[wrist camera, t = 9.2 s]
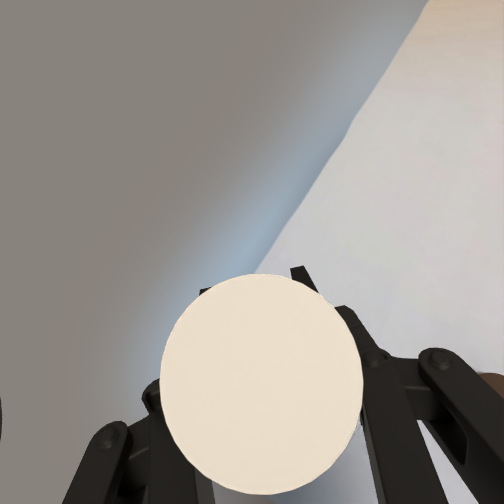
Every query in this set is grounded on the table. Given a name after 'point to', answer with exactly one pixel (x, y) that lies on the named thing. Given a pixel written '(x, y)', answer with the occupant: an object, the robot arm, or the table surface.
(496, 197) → the table surface
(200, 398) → the tube
